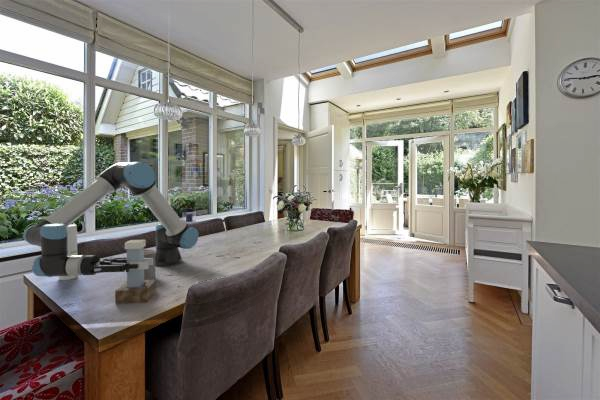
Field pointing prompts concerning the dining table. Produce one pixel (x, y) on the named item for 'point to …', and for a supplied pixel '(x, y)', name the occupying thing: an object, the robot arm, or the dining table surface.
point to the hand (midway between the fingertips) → (150, 263)
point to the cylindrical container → (71, 246)
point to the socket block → (135, 293)
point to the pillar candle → (149, 273)
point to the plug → (135, 255)
